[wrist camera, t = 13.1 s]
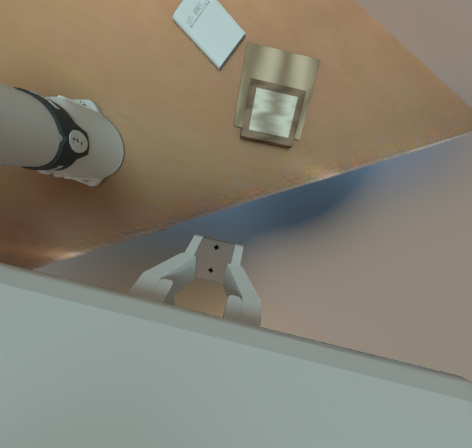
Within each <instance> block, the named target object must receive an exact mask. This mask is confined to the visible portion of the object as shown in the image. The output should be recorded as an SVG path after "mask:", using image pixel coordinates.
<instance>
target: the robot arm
mask: <svg viewBox="0 0 472 448" xmlns="http://www.w3.org/2000/svg"><path fill="white" fill-rule="evenodd" d="M85 105H86V106H85ZM123 155H124V149H123V143H122V139H121V137H120V135H119V133H118V131H117V130H116V128H115V127H114V126H113V124H112V123H111V122H110V121H108V120H107V119H106V118H105V117H104V116H103V115H102V113H101V111H100V109H99V107H98V106H97V104H96V103H95V102H93V101H91V100H70V99H68V98H66V97H63V96H60V95H58V96H57V97H43V96H42V95H39V94H37V93H34V92H31V91H27V90H25V89H21V88H16V87H10V86H8V85H5V84H3V83H1V82H0V166H19V167H23V168H27V169H32V170H37V172H39V173H42V174H47V175H52V174H53V176H55V177H59V178H62V177H64V178H66V179H73V180H76V181H78V182H81V183H84V184H86V185H89V186H98V185H99V184H100V183H101V182H102V180H103V179H104V178H106V177H108V176H110V175H112V174H113V173H114V172H116V171H117V170H118V168H119V167H120V165H121V163H122V160H123ZM88 180H89V181H88ZM242 253H243V246H242V245H237V244H232V243H228V242H224V241H219V240H215V239H211V238H207V237H203V236H199V235H195V236H194V237H193V239H192V240H191V242H190V244H189V246H188V247H187V249H186V251H185V253H180V254H178V255H176V256H174V257H172V258H170V259H168V260H166V261H164V262H163V263H161V264H159V265H157V266H155V267H153V268H151V269H149V270H147V271H145V272H143V273H142V275H141V276H140V277H139V279H138V280H137V281H136V283H135V284H134V285H133V287H132V288H131V289H130V291H129V292H128V293H127V294H126V293H122V292H117V291H114V290H110V289H106V288H102V287H97V286H94V285H89V284H85V283H81V282H77V281H73V280H69V279H65V278H61V277H57V276H53V275H49V274H45V273H41V272H37V271H33V270H29V269H25V268H21V267H17V266H13V265H9V264H5V263H1V262H0V448H472V382H471V381H469V380H467V379H465V378H463V377H460V376H457V375H454V374H450V373H446V372H441V371H437V370H433V369H429V368H425V367H421V366H417V365H413V364H409V363H405V362H401V361H397V360H393V359H389V358H385V357H380V356H376V355H372V354H368V353H364V352H360V351H356V350H352V349H348V348H344V347H340V346H336V345H332V344H327V343H324V342H319V341H315V340H311V339H308V338H303V337H299V336H295V335H291V334H287V333H283V332H279V331H275V330H271V329H267V328H263V327H260V322H261V300H260V298H259V297H258V295H257V293H256V291H255V289H254V287H253V285H252V283H251V282H250V280H249V278H248V276H247V274H246V272H245V270H244V269H243V267H241V266H240V265H241V259H242ZM195 277H197V278H202V279H207V280H210V281H214V282H218V283H221V284H223V286H224V289H225V292H226V295H227V298H228V300H227V303H226V307H225V311H224V315H223V317H219V316H214V315H211V314H207V313H202V312H198V311H194V310H190V309H186V308H182V307H178V306H175V303H174V295H175V294H176V293H177V292H179V291H180V290H181V289H182V288H184V287H185V286H186V285H187V284H189V283H190V282H191V281H192V280H193V279H195Z"/></svg>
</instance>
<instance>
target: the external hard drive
mask: <svg viewBox="0 0 472 448" xmlns="http://www.w3.org/2000/svg"><path fill="white" fill-rule="evenodd" d="M173 20H174V22H175V23H176V24H177V25H178V27H179V28H180V29H181V30H182V31H183V32H184V33H185V34H186V35H187V36H188V37H189V38H190V40H191V41H192V42H193V43H194V44H195V45H196V46H197V47H198V48H199V49H200V50H201V51H202V52H203V54H204V55H205V56H206V57H207V58H208V59H209V60H210V61H211V62H212V63H213V64H214V66H215V67H216V68H217V69H218V70H219V71H220V70H221V69H222V67H223V66H224V65H225V63H226V62H227V61H228V59H229V58H230V57H231V55H232V54H233V53H234V51H235V50H236V49H237V47H238V46H239V45H240V43H241V42H242V41H243V39H244V38H245V32H244V31H243V30H242V29H241V28H240V26H239V25H238V24H237V23H236V22H235V21H234V19H233V18H232V17H231V16H230V15H229V14H228V12H227V11H226V10H225V9H224V8H223V7H222V5H221V4H220V3H219V2H218V1H217V0H183V1H182V2H181V4H180V5H179V7H178V9H177V10H176V12H175V13H174V15H173Z"/></svg>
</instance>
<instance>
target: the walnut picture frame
mask: <svg viewBox="0 0 472 448" xmlns="http://www.w3.org/2000/svg"><path fill="white" fill-rule="evenodd" d="M305 95H306V91H305V90H300V89H296V88H292V87H288V86H283V85H279V84H275V83H270V82H266V81H262V80H258V79H253V78H251V80H250V86H249V92H248V97H247V103H246V109H245V114H244V120H243V126H242V132H241V137H240V138H242V139H247V140H252V141H257V142H261V143H266V144H271V145H276V146H281V147H286V148H290V147H292V146H293V143H294V139H295V135H296V131H297V127H298V123H299V119H300V115H301V111H302V107H303V103H304V99H305Z"/></svg>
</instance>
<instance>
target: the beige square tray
mask: <svg viewBox="0 0 472 448" xmlns="http://www.w3.org/2000/svg"><path fill="white" fill-rule="evenodd" d="M319 63H320V60H319V59H315V58H311V57H307V56H303V55H299V54H295V53H291V52H287V51H283V50H279V49H275V48H271V47H267V46H263V45H259V44H255V43H251V42H247V48H246V54H245V60H244V67H243V73H242V79H241V85H240V91H239V97H238V103H237V109H236V115H235V122H234V126H235V127H240V128H242V126H243V120H244V114H245V109H246V103H247V97H248V92H249V86H250V80H251V78H253V79H258V80H262V81H266V82H270V83H275V84H279V85H283V86H288V87H292V88H296V89H300V90H305V91H306V95H305V99H304V103H303V107H302V111H301V115H300V119H299V123H298V127H297V131H296V135H295V139H296V140H300V136H301V132H302V129H303V125H304V121H305V117H306V113H307V109H308V105H309V102H310V98H311V94H312V90H313V86H314V82H315V78H316V74H317V71H318V67H319Z"/></svg>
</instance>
